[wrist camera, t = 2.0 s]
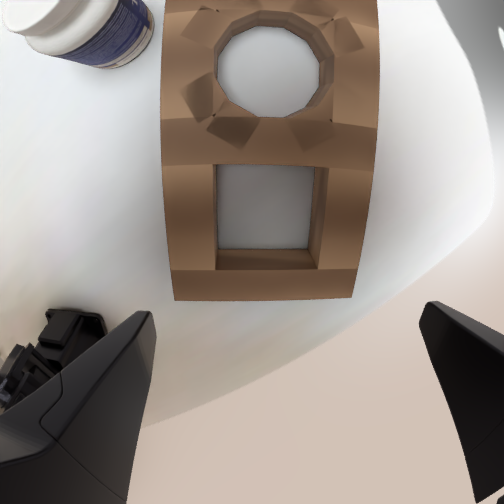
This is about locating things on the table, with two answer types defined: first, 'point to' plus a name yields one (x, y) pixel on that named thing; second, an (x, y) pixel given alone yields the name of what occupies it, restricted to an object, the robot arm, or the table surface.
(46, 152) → the table surface
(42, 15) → the pill bottle
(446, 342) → the robot arm
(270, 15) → the socket block
